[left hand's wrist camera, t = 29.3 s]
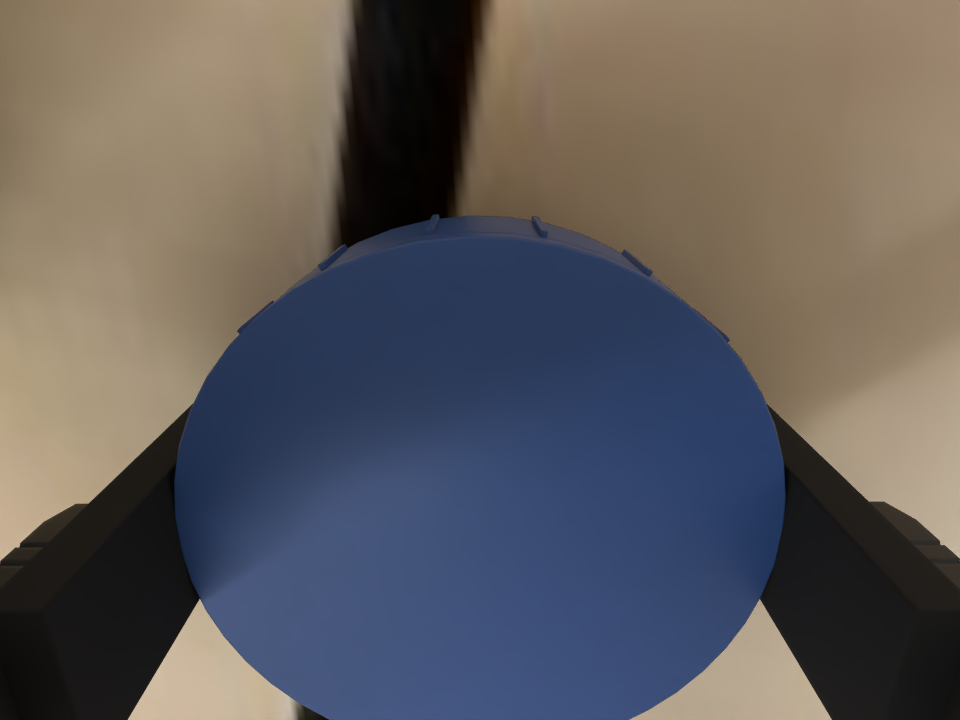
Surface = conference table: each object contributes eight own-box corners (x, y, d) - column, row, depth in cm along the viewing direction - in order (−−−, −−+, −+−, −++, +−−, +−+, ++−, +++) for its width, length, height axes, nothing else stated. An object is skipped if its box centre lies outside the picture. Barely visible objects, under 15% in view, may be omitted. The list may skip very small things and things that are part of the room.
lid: (412, 726, 15) (401, 822, 13) (109, 398, 12) (31, 455, 10) (813, 540, 13) (876, 617, 11) (579, 88, 10) (605, 77, 8)
